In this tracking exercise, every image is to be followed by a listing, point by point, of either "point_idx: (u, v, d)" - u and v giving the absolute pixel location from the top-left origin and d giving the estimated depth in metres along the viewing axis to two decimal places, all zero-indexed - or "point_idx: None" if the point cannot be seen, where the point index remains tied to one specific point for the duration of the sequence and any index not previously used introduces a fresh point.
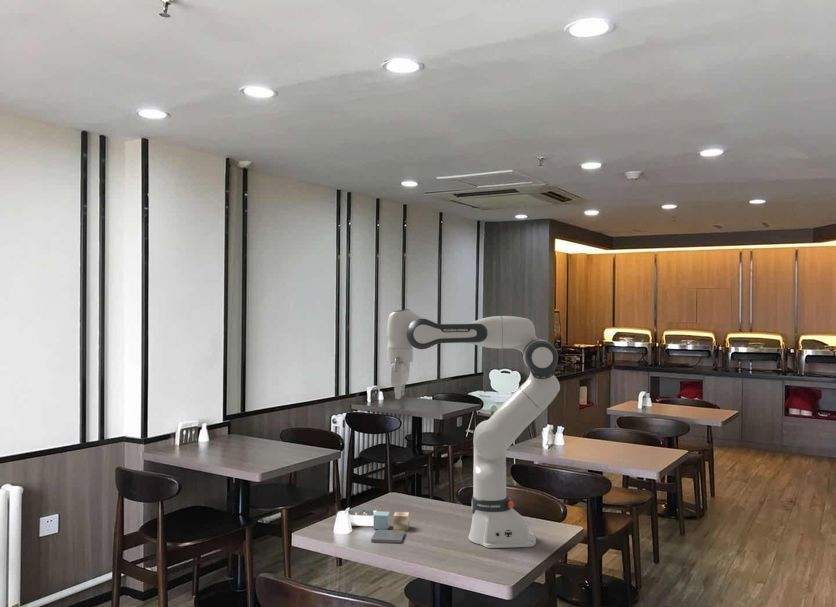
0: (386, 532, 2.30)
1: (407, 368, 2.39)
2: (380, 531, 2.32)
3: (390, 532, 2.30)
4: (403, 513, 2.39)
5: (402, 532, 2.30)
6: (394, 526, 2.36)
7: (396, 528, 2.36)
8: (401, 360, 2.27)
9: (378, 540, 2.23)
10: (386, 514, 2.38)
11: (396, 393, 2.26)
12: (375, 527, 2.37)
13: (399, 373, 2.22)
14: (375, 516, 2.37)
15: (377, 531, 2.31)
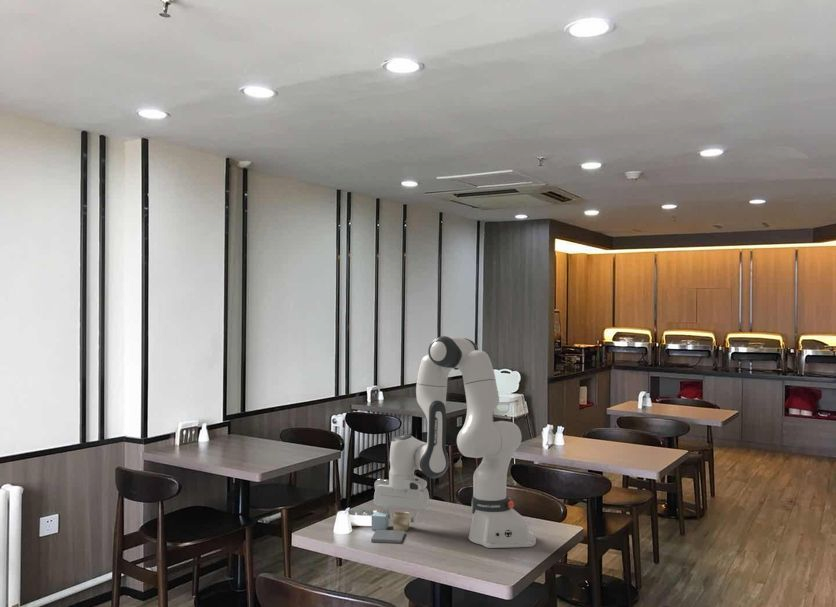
0: (386, 532, 2.30)
1: (419, 497, 2.35)
2: (380, 531, 2.32)
3: (390, 532, 2.30)
4: (403, 513, 2.39)
5: (402, 532, 2.30)
6: (394, 526, 2.36)
7: (396, 528, 2.36)
8: None
9: (378, 540, 2.23)
10: (384, 515, 2.37)
11: None
12: (373, 528, 2.36)
13: None
14: (373, 517, 2.36)
15: (377, 531, 2.31)
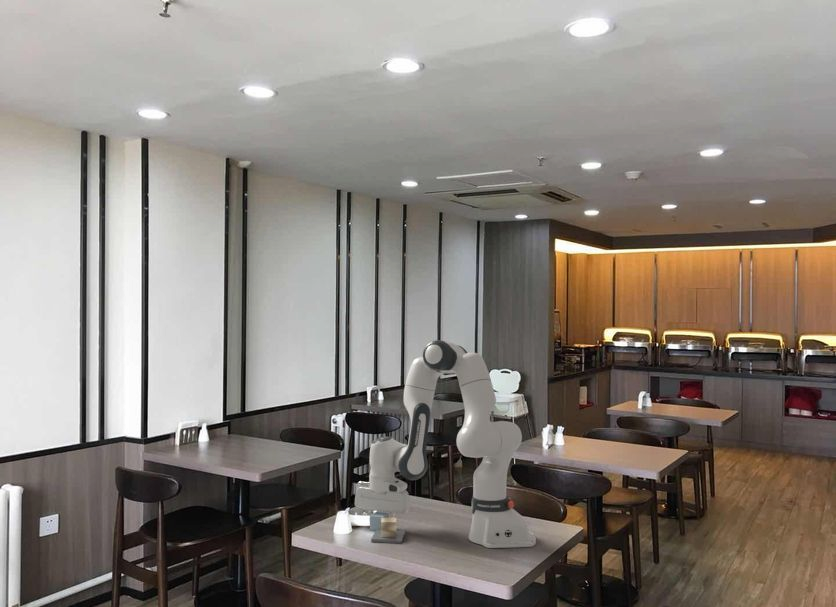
0: None
1: (398, 499, 2.35)
2: (380, 531, 2.32)
3: None
4: (390, 519, 2.29)
5: (402, 532, 2.30)
6: (382, 533, 2.25)
7: (384, 535, 2.25)
8: None
9: (378, 540, 2.23)
10: (382, 516, 2.36)
11: None
12: (371, 528, 2.36)
13: None
14: (371, 517, 2.36)
15: (377, 531, 2.31)
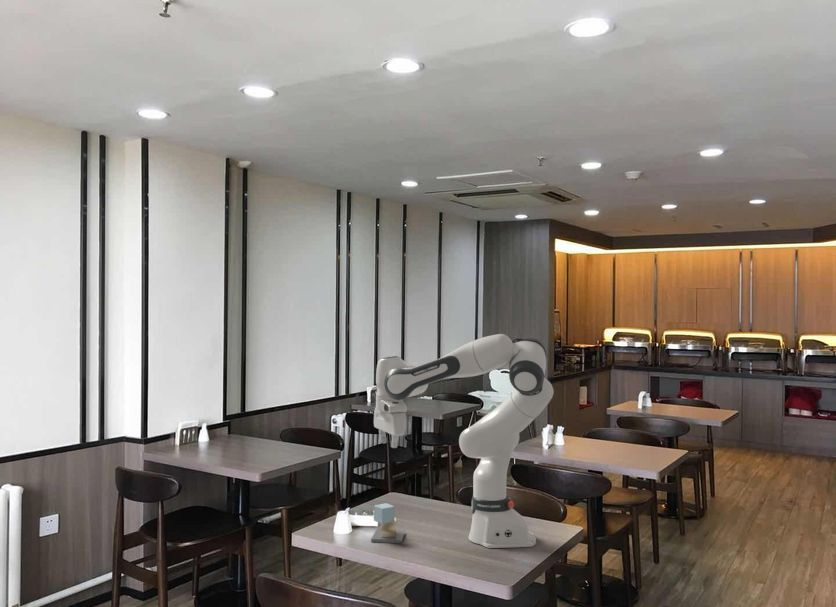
0: None
1: (392, 420, 2.21)
2: (380, 531, 2.32)
3: None
4: None
5: (402, 532, 2.30)
6: (382, 533, 2.25)
7: (384, 535, 2.25)
8: None
9: (378, 540, 2.23)
10: (384, 507, 2.25)
11: None
12: (374, 518, 2.27)
13: None
14: (374, 507, 2.27)
15: (377, 531, 2.31)
